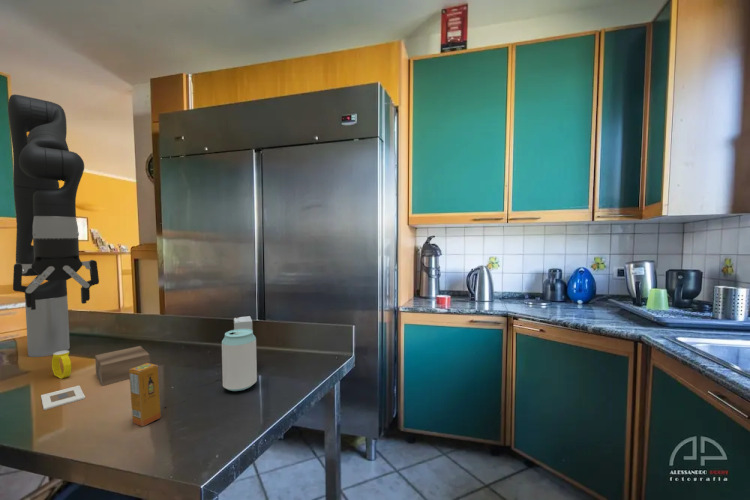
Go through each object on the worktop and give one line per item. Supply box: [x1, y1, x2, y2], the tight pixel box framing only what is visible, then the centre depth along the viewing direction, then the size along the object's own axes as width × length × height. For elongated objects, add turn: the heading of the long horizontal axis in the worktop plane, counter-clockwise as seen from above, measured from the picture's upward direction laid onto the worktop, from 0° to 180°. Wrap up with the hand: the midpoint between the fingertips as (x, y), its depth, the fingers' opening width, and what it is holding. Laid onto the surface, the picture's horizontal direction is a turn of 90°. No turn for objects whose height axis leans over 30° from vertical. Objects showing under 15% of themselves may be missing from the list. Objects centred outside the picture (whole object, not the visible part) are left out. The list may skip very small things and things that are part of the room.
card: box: [40, 384, 86, 411], centre depth 68 cm, size 8×6×1 cm
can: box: [221, 329, 258, 392], centre depth 73 cm, size 7×7×12 cm
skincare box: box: [233, 315, 254, 332], centre depth 84 cm, size 6×4×12 cm
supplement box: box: [129, 363, 162, 428], centre depth 59 cm, size 3×3×10 cm
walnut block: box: [94, 345, 151, 387], centre depth 79 cm, size 9×9×5 cm
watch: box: [51, 349, 72, 380], centre depth 78 cm, size 6×3×6 cm, turn 65°
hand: (59, 306), depth 77 cm, fingers open, 8 cm apart
